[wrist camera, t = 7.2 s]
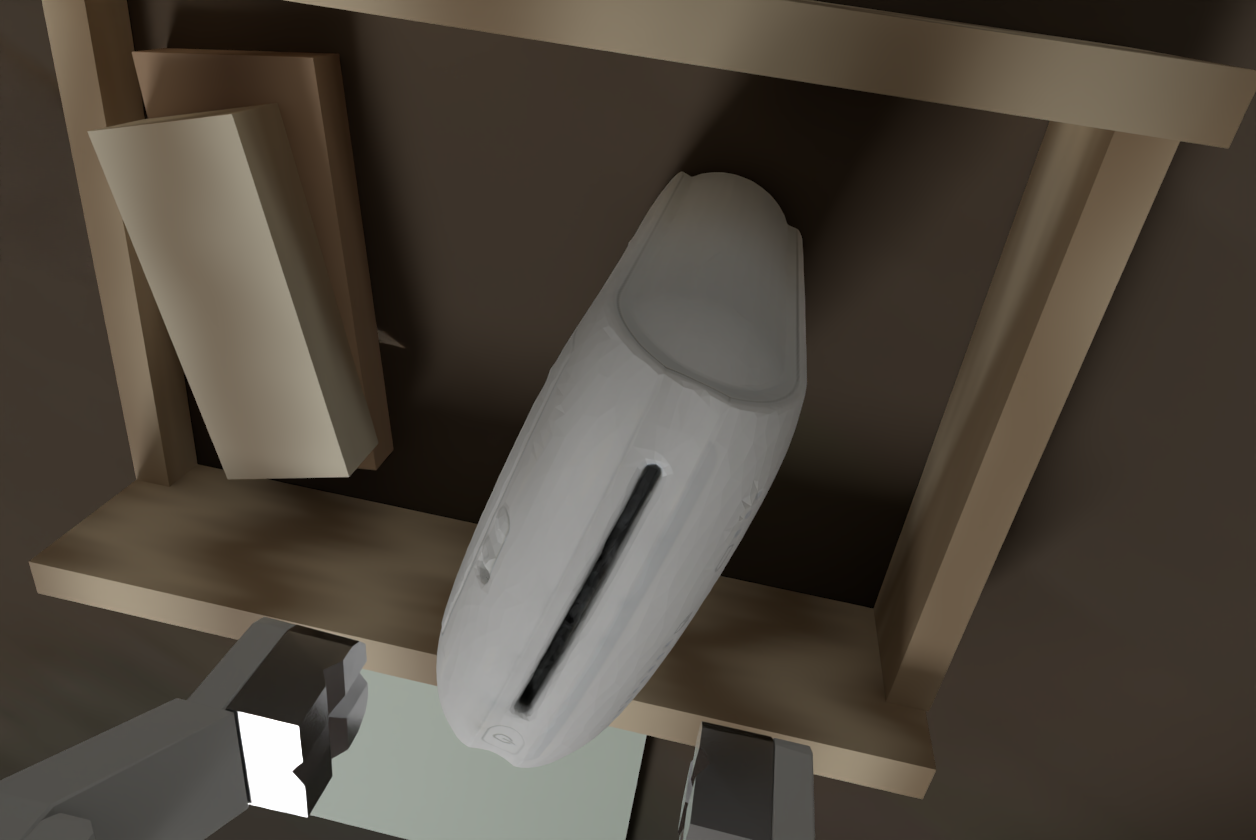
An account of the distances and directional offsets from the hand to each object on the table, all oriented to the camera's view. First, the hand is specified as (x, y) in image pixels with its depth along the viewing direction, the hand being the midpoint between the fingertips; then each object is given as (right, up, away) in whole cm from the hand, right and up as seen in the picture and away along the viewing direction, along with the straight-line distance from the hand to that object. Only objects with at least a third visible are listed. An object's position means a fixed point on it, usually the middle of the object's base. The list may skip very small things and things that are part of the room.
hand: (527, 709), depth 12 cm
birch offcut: (-9, +8, +12) cm, 17 cm away
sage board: (-5, -8, +21) cm, 23 cm away
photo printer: (+3, +6, +12) cm, 14 cm away
